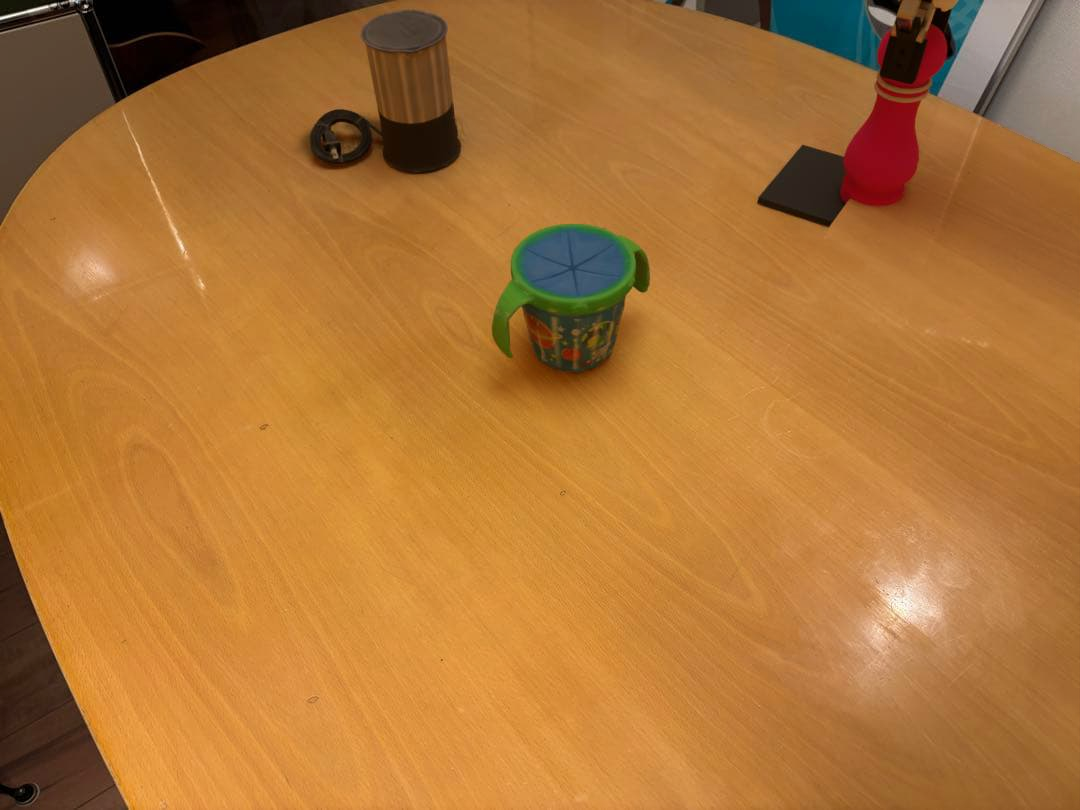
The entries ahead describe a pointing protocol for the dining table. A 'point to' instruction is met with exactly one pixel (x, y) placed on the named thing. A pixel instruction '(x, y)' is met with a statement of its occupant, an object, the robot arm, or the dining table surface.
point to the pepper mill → (891, 131)
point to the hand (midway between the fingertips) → (909, 61)
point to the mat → (808, 186)
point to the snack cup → (570, 293)
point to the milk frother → (402, 96)
